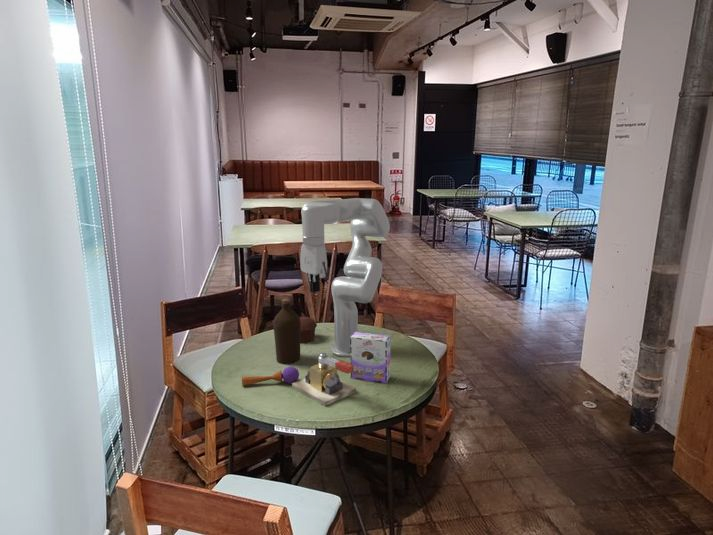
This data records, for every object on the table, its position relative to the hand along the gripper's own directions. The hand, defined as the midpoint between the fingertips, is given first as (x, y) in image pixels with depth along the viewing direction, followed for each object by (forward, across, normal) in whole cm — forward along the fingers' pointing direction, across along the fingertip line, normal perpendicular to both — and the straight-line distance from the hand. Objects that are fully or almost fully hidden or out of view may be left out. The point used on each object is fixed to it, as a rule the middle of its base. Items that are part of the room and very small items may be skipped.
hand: (315, 291), depth 175 cm
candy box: (+32, +16, +12) cm, 38 cm away
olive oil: (+32, -18, 0) cm, 37 cm away
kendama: (+33, -6, -17) cm, 37 cm away
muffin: (+32, -30, +17) cm, 47 cm away
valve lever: (+23, +17, -6) cm, 29 cm away
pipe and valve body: (+31, +11, -6) cm, 33 cm away
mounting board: (+32, +11, -6) cm, 34 cm away
